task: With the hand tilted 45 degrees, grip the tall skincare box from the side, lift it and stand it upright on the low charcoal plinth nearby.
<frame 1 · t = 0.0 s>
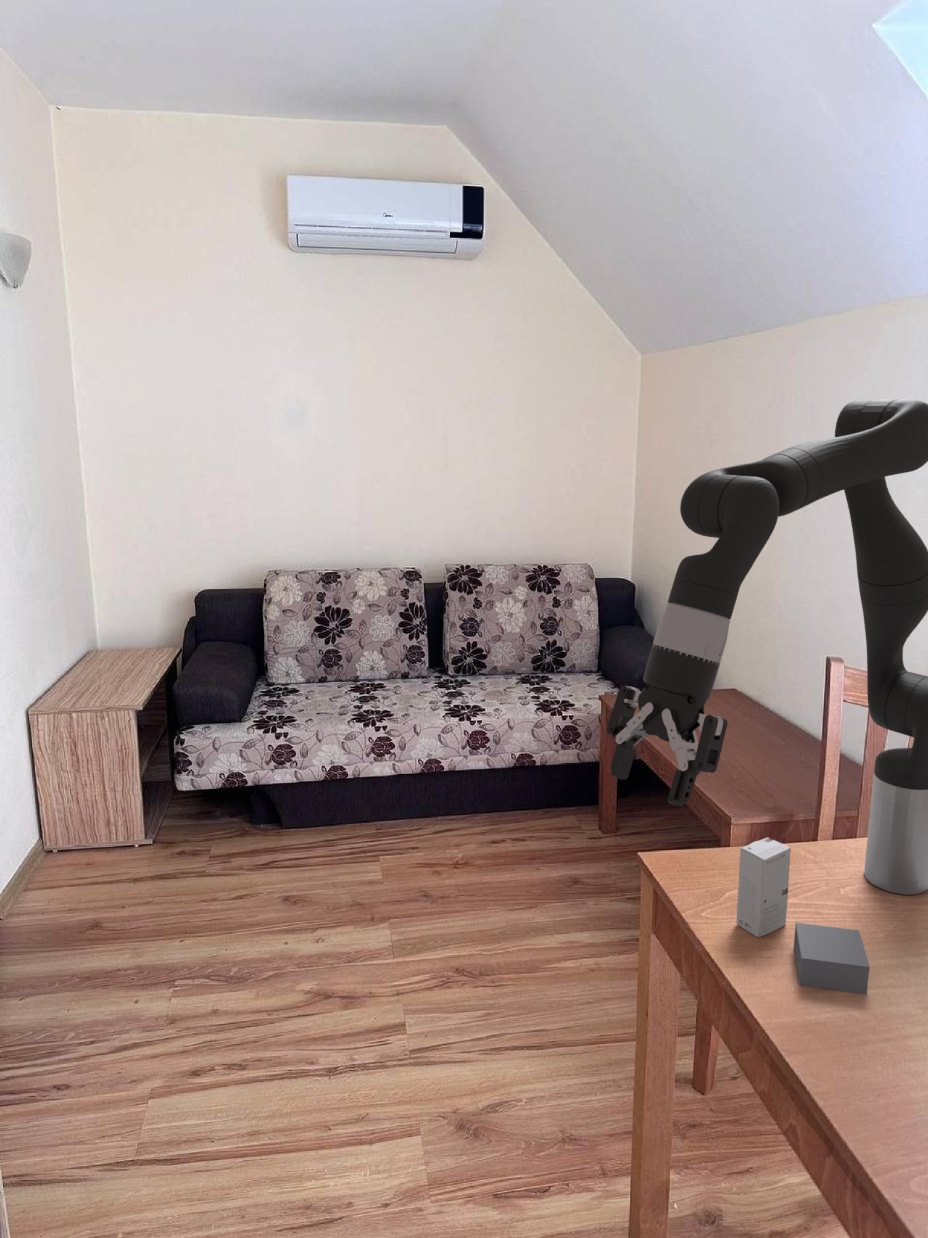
hand: (646, 790, 98), 31 cm above the table, tool tilted 20°, fingers open, 8 cm apart
skincare box: (760, 925, 127), on the table
charcoal plinth: (828, 970, 116), on the table
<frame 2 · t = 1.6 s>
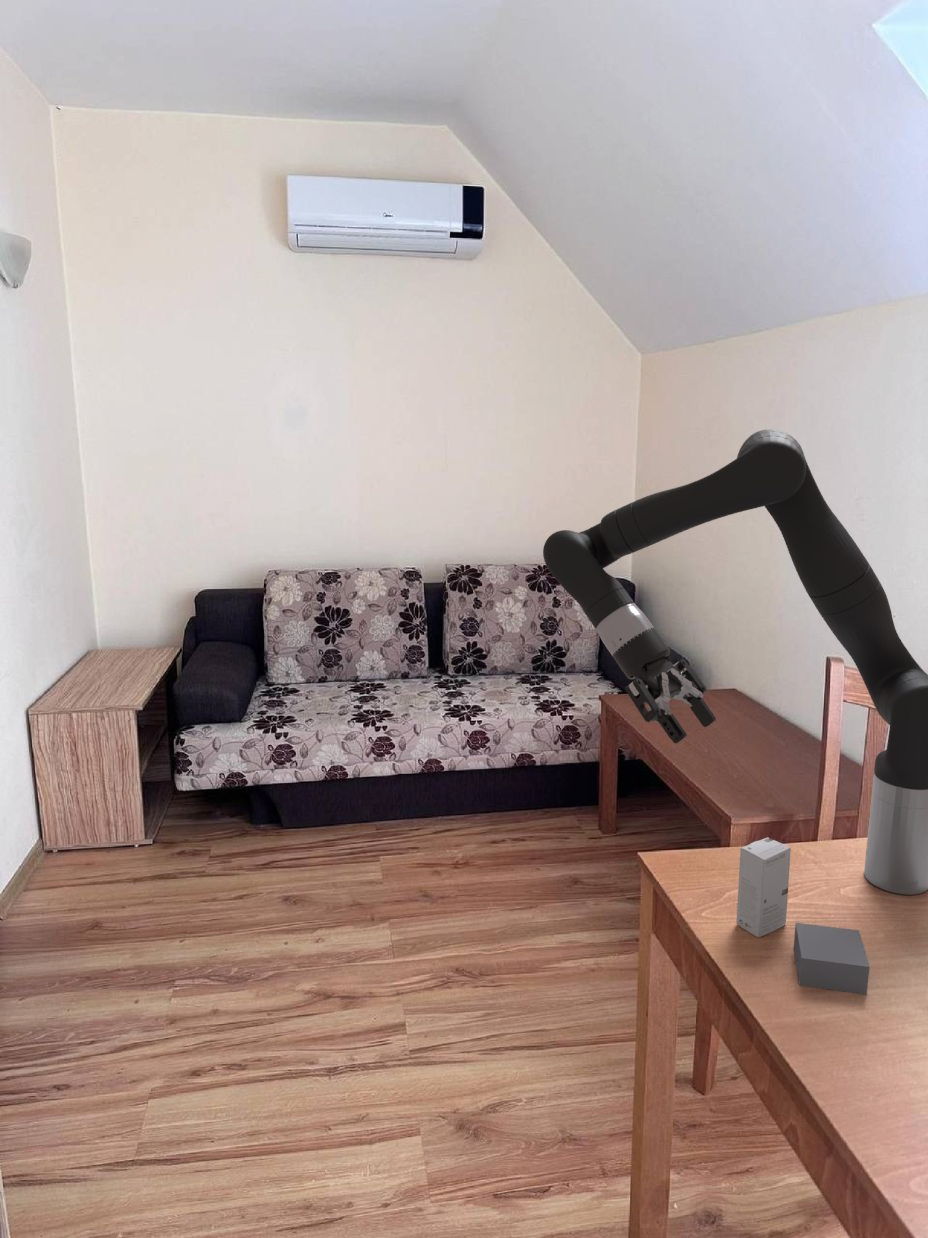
hand: (696, 731, 128), 27 cm above the table, tool tilted 45°, fingers open, 8 cm apart
nothing on the table moved.
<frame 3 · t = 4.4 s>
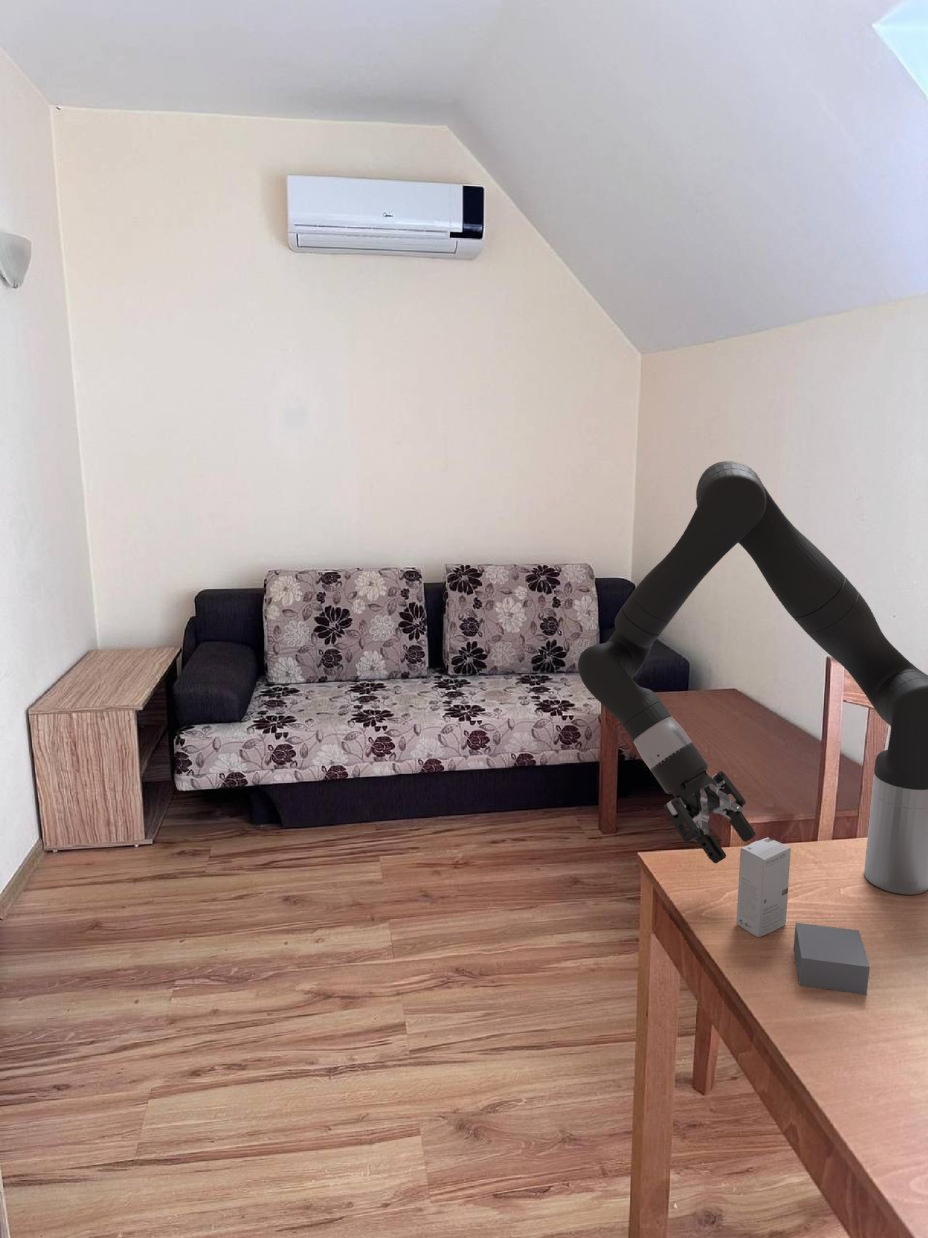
hand: (736, 849, 127), 10 cm above the table, tool tilted 45°, fingers open, 8 cm apart
nothing on the table moved.
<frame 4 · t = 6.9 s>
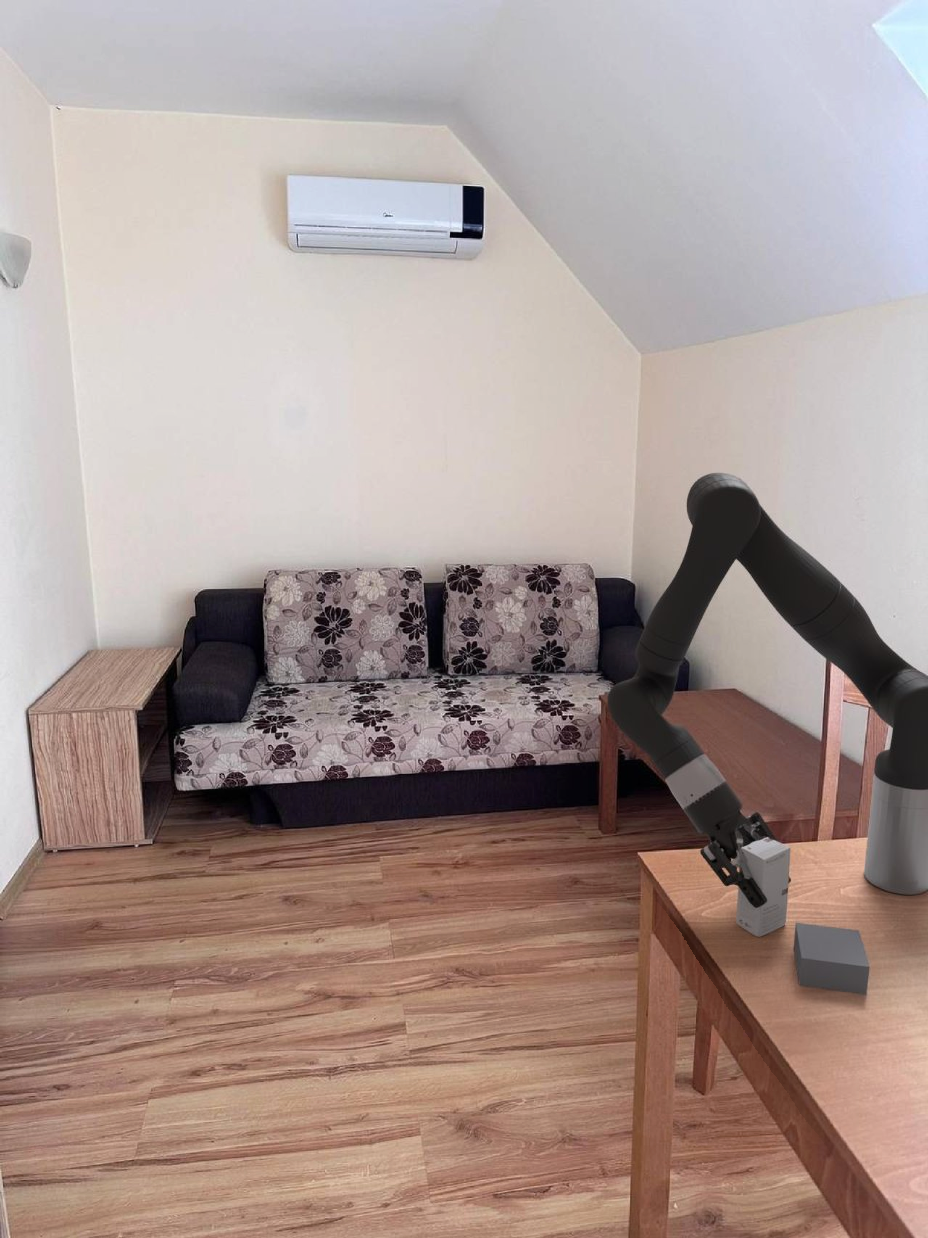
hand: (773, 894, 124), 5 cm above the table, tool tilted 45°, fingers closed on skincare box, 6 cm apart
skincare box: (760, 925, 127), on the table, touching gripper
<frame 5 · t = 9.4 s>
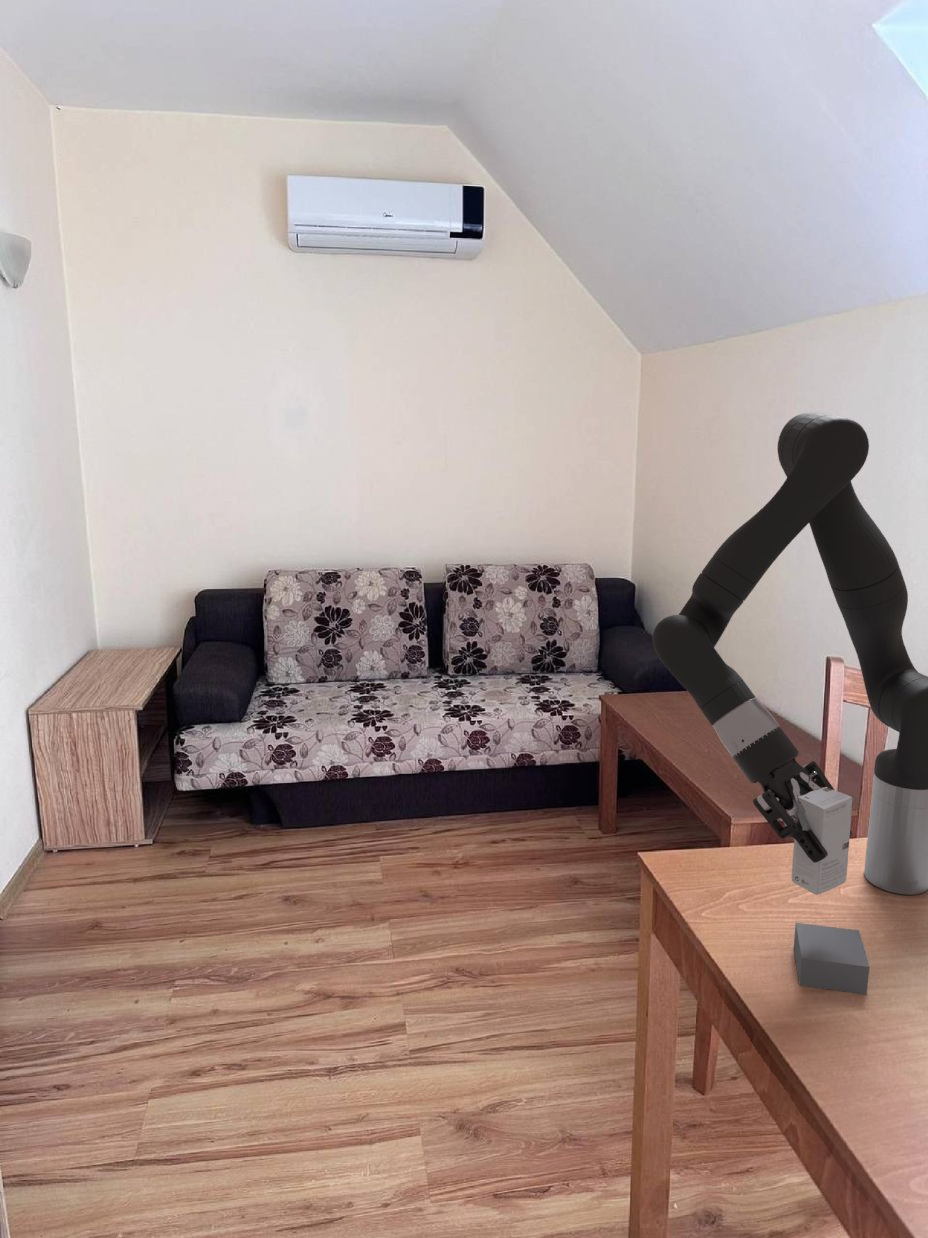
hand: (834, 848, 113), 17 cm above the table, tool tilted 45°, fingers closed on skincare box, 6 cm apart
skincare box: (818, 882, 116), point 11 cm above the table, touching gripper
when the fingers open (11 cm above the table, at t = 12.1 s): skincare box drops 1 cm, resting on charcoal plinth.
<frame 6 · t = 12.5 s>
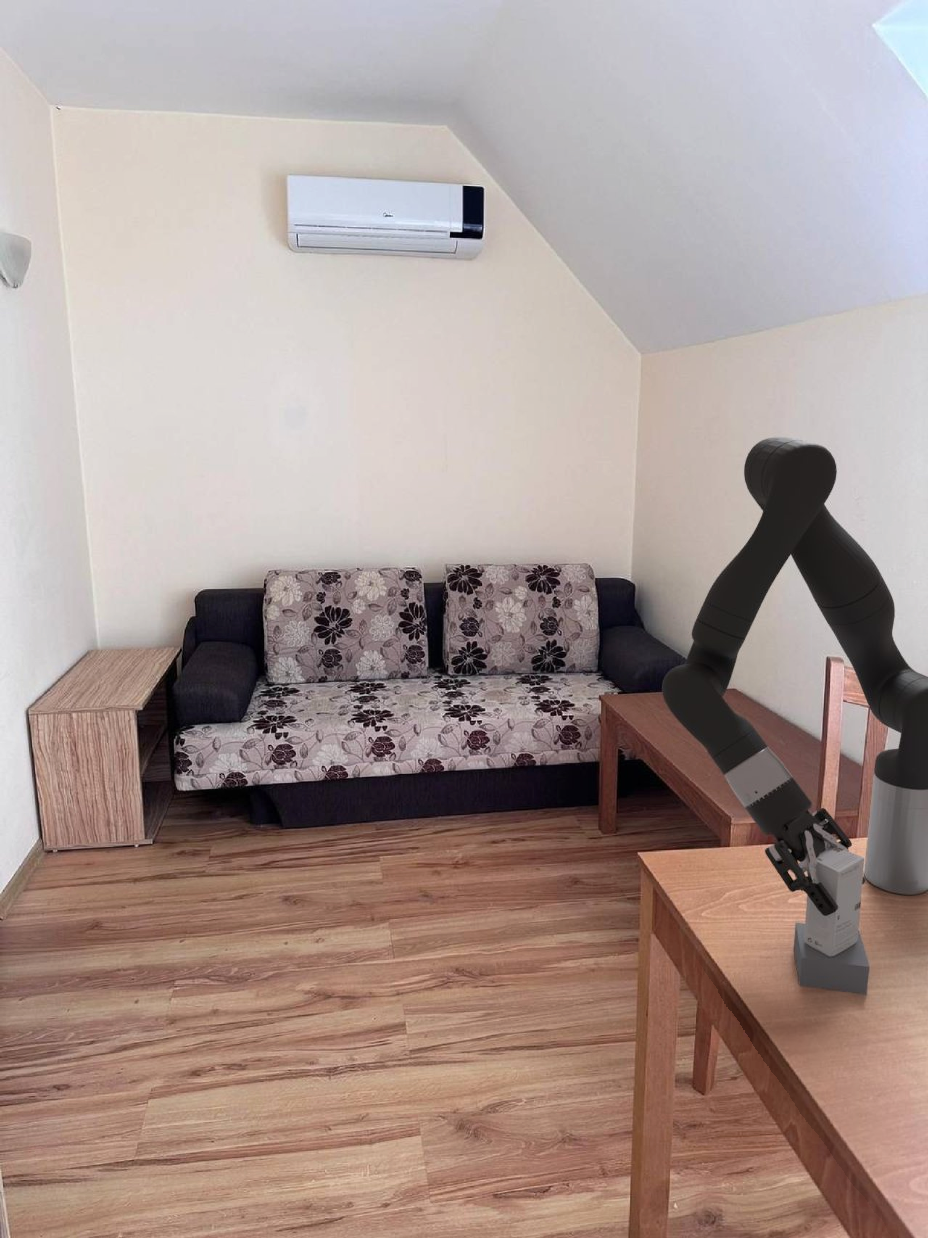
hand: (846, 899, 113), 11 cm above the table, tool tilted 45°, fingers open, 8 cm apart
skincare box: (830, 943, 116), point 4 cm above the table, touching charcoal plinth
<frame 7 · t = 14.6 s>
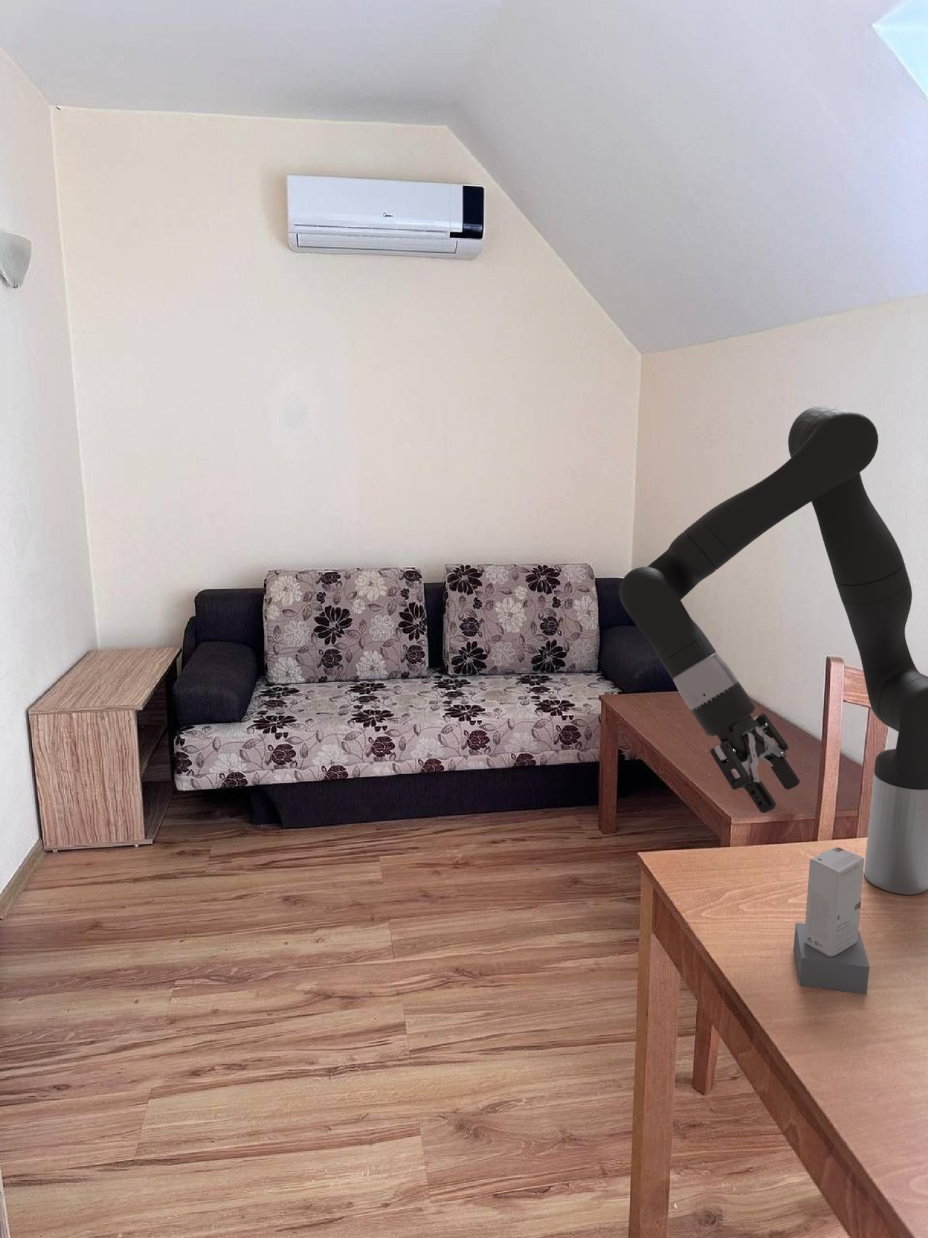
hand: (782, 798, 117), 22 cm above the table, tool tilted 40°, fingers open, 8 cm apart
nothing on the table moved.
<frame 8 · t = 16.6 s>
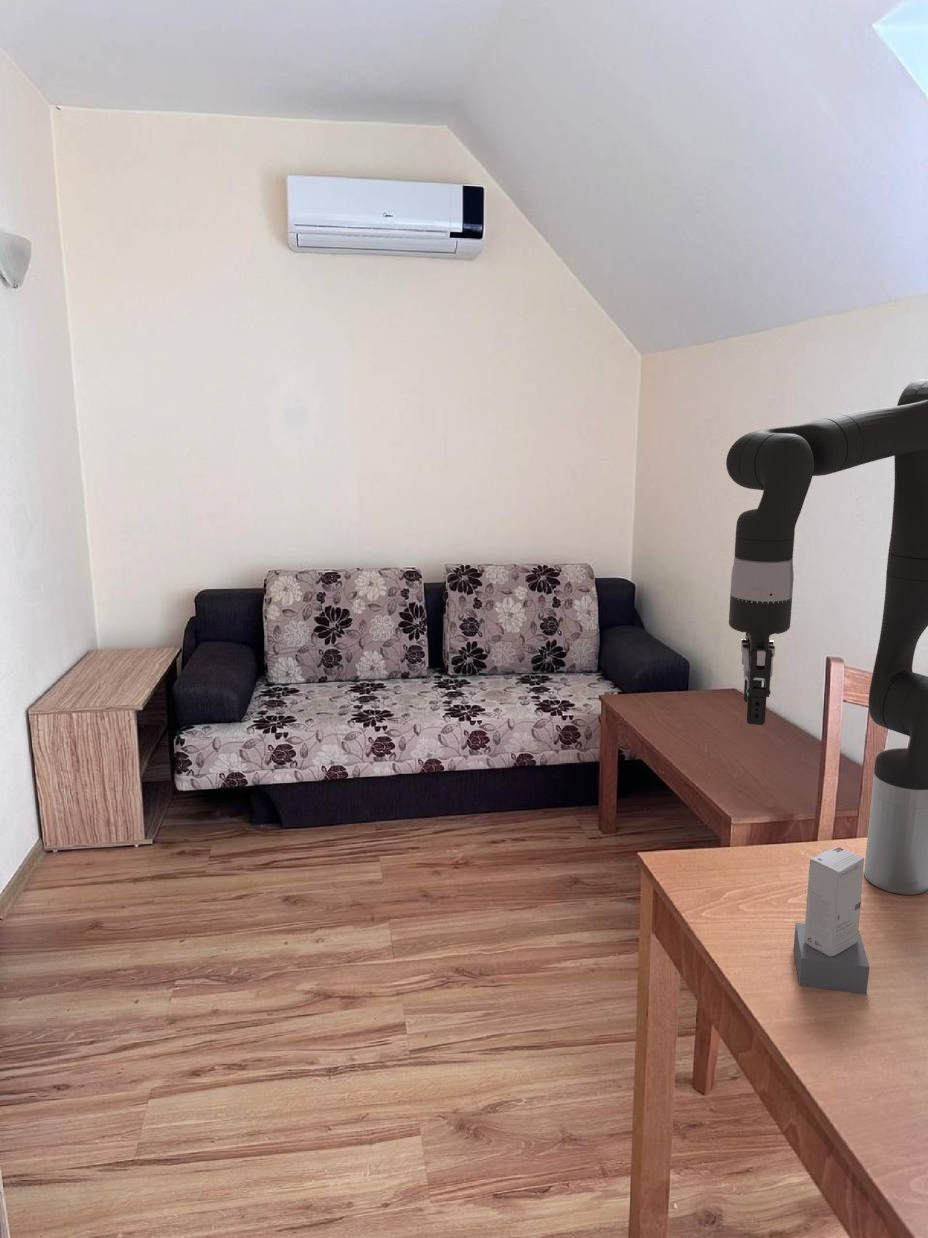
hand: (753, 712, 117), 33 cm above the table, tool pointing down, fingers open, 8 cm apart
nothing on the table moved.
at the end: skincare box inside the target area on the charcoal plinth (0.5 cm from its centre), point 3.8 cm above the charcoal plinth's base; skincare box tilted 0°; the gripper is holding nothing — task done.
